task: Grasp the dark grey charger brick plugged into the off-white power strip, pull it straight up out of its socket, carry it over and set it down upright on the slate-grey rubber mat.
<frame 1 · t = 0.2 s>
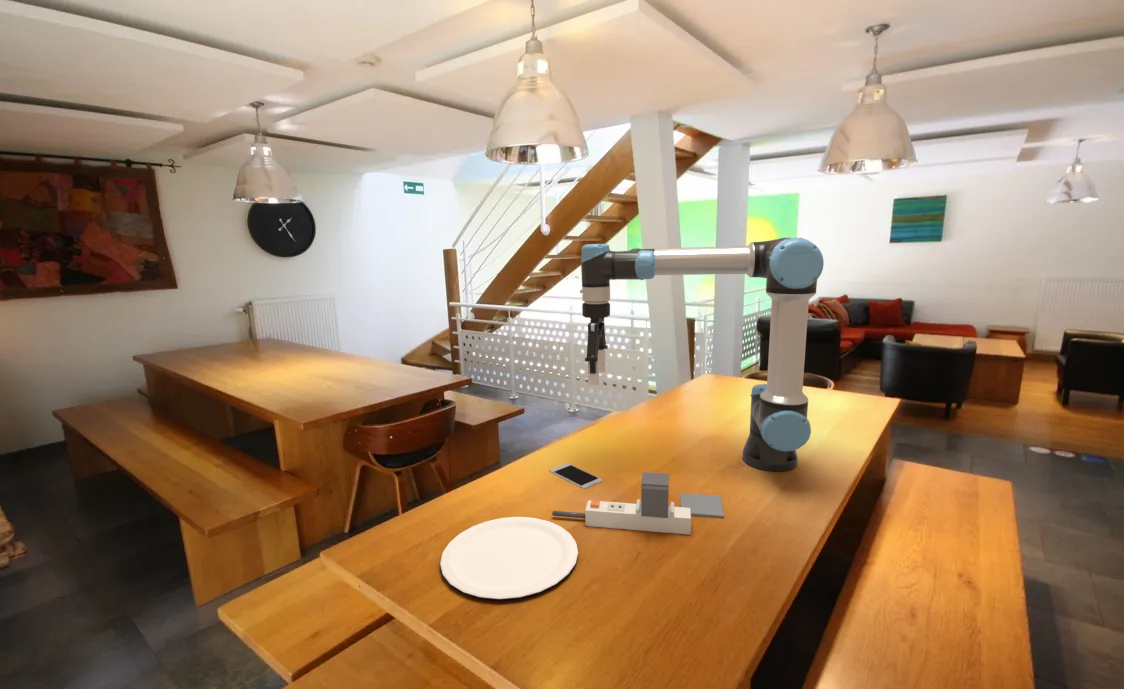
hand: (597, 378, 147), 28 cm above the table, fingers open, 13 cm apart
mat: (701, 506, 131), on the table
power strip: (637, 524, 124), on the table
plate: (510, 559, 113), on the table
smartphone: (575, 478, 150), on the table
charger: (655, 510, 122), point 4 cm above the table, touching power strip
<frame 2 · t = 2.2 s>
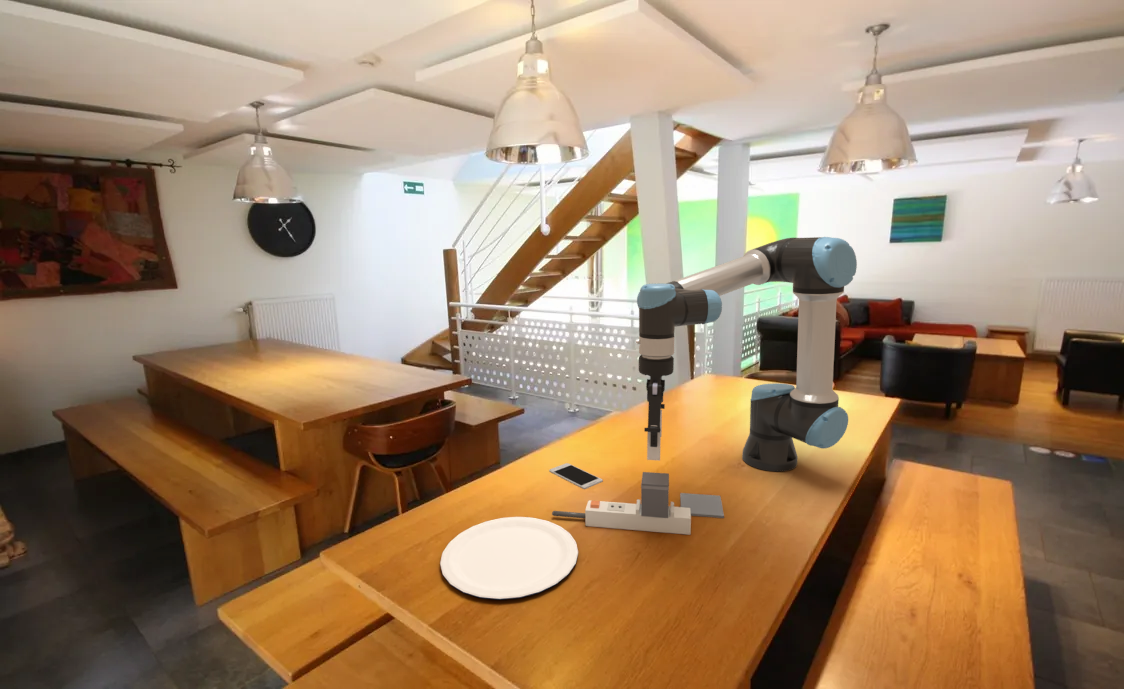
hand: (654, 447, 119), 20 cm above the table, fingers open, 13 cm apart
nothing on the table moved.
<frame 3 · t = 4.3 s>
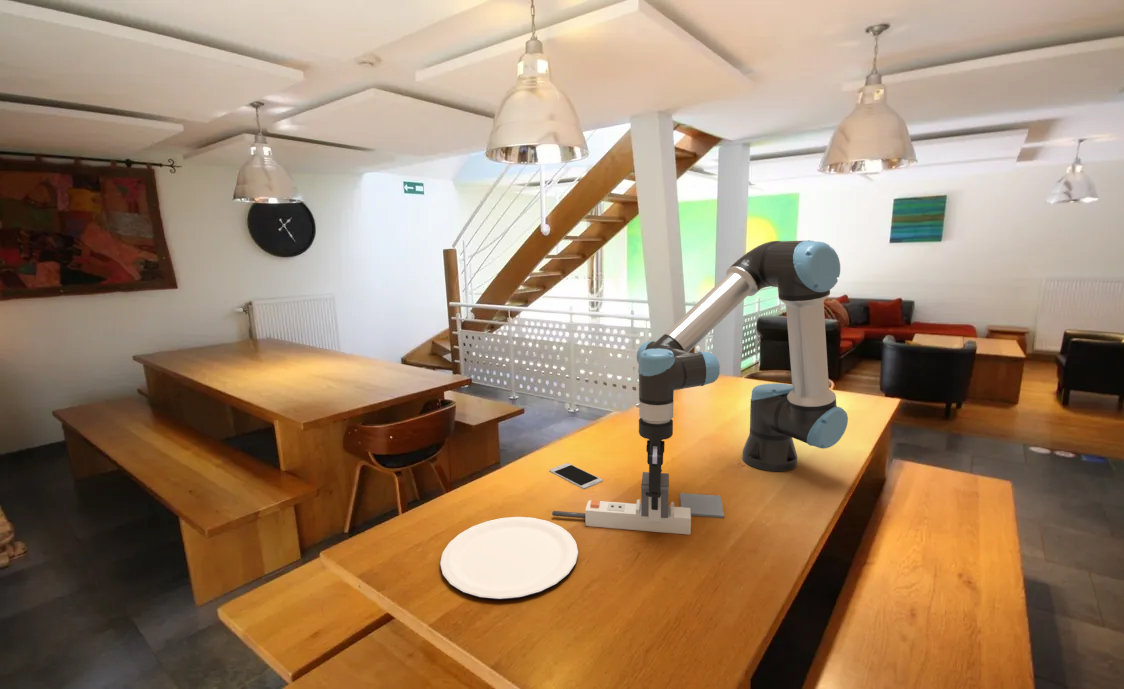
hand: (655, 512, 122), 3 cm above the table, fingers closed on charger, 6 cm apart
charger: (655, 510, 122), point 4 cm above the table, touching gripper, power strip
everything else where it was.
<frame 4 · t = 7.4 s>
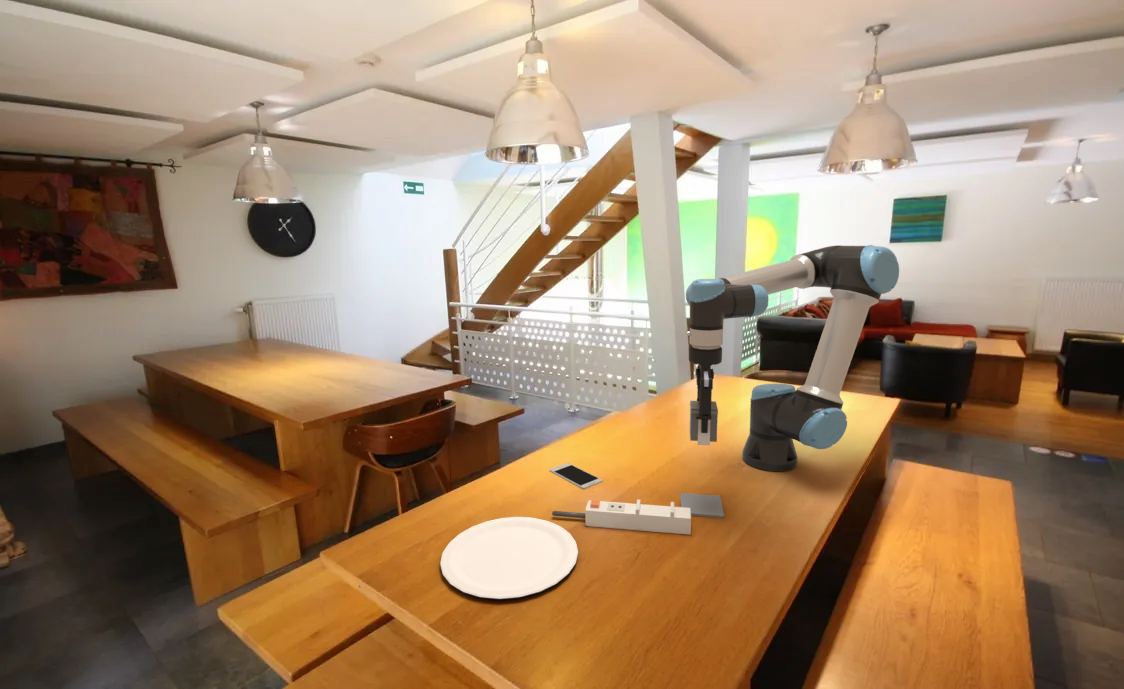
hand: (702, 439, 128), 18 cm above the table, fingers closed on charger, 6 cm apart
charger: (702, 436, 128), point 18 cm above the table, touching gripper
everything else where it was.
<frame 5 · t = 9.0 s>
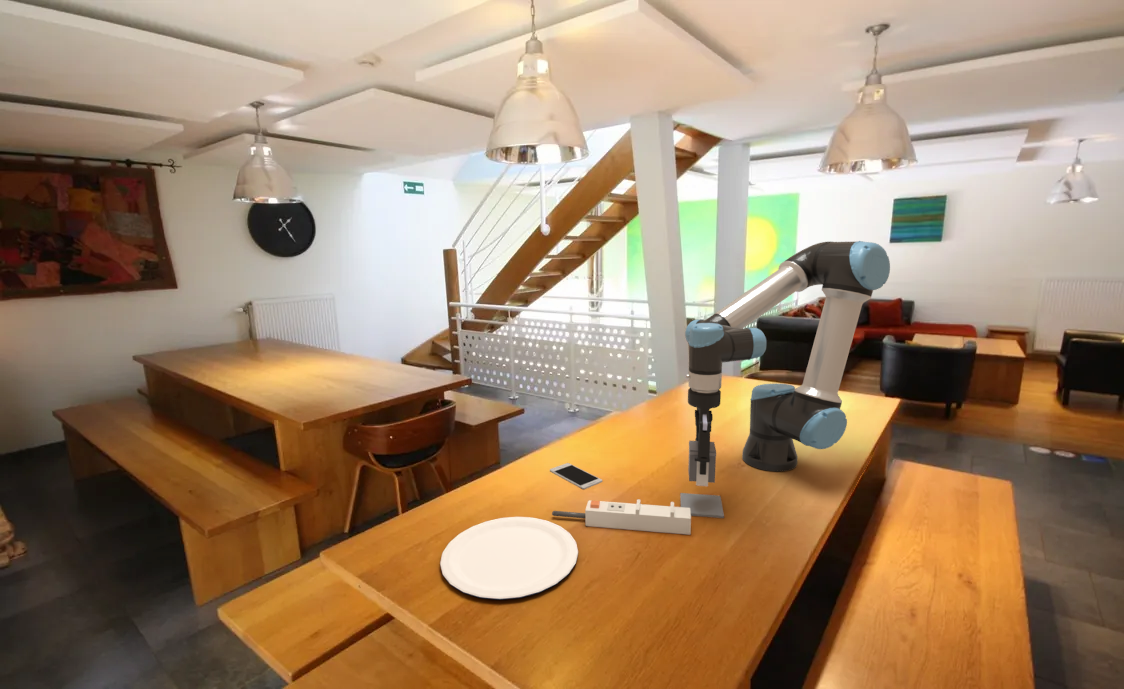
hand: (701, 478, 130), 7 cm above the table, fingers closed on charger, 6 cm apart
charger: (701, 476, 130), point 8 cm above the table, touching gripper
everything else where it was.
when the fingers open (2 cm above the table, at t = 10.5 s): charger drops 2 cm, resting on mat.
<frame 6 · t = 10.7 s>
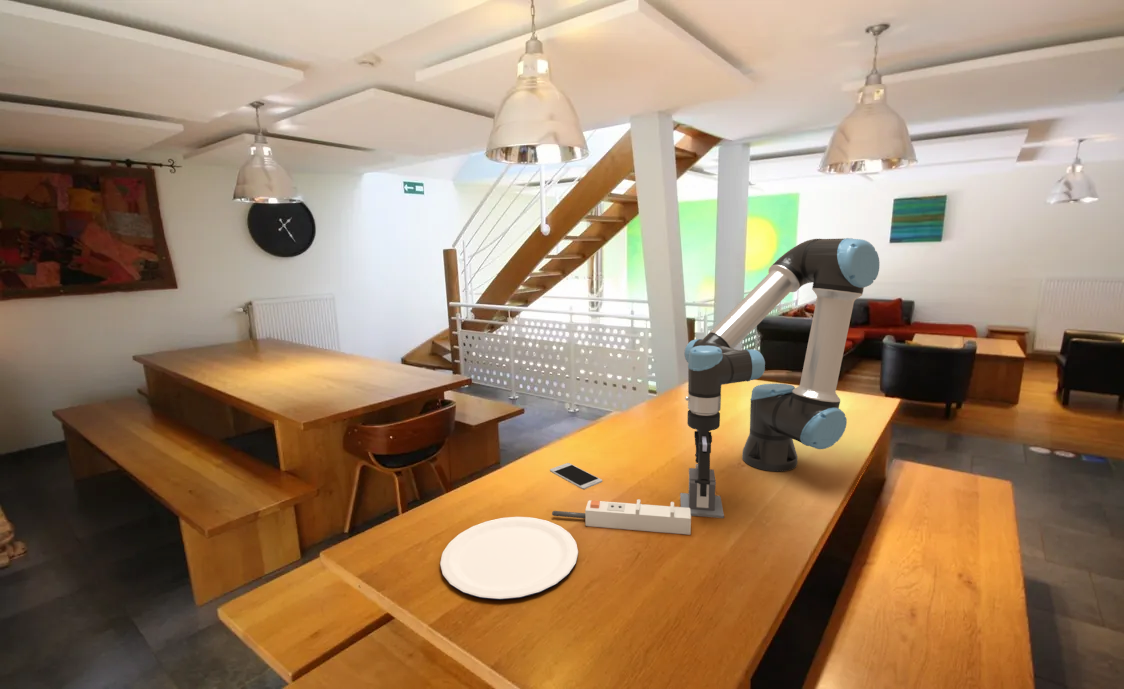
hand: (701, 497, 131), 2 cm above the table, fingers open, 9 cm apart
charger: (701, 503, 131), point 1 cm above the table, touching mat
everything else where it was.
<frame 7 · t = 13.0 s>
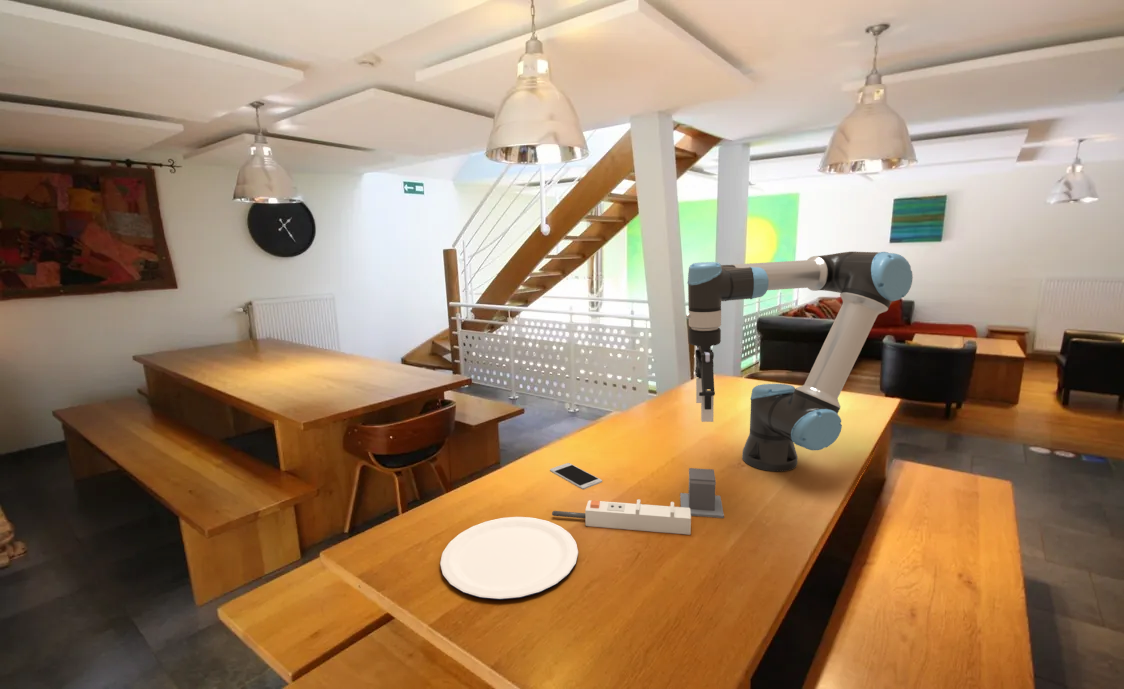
hand: (704, 411, 131), 23 cm above the table, fingers open, 13 cm apart
nothing on the table moved.
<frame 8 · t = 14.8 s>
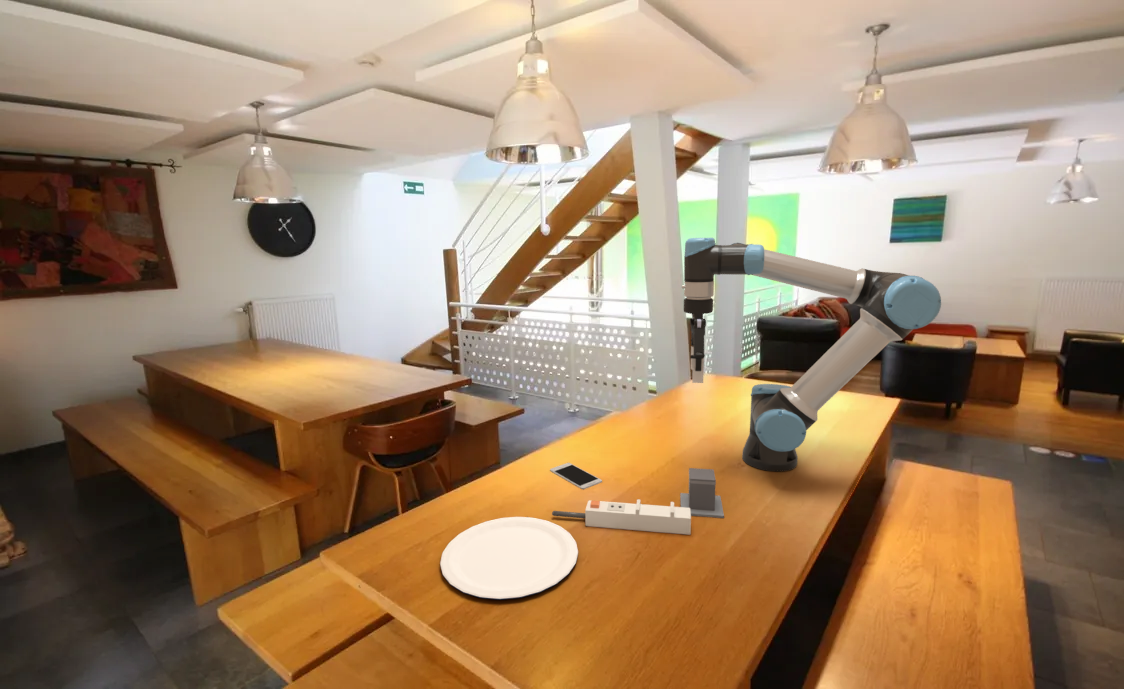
hand: (696, 375, 143), 29 cm above the table, fingers open, 13 cm apart
nothing on the table moved.
at the end: charger inside the target area on the mat (0.0 cm from its centre), point 0.6 cm above the mat's base; charger tilted 0°; charger touching mat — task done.
